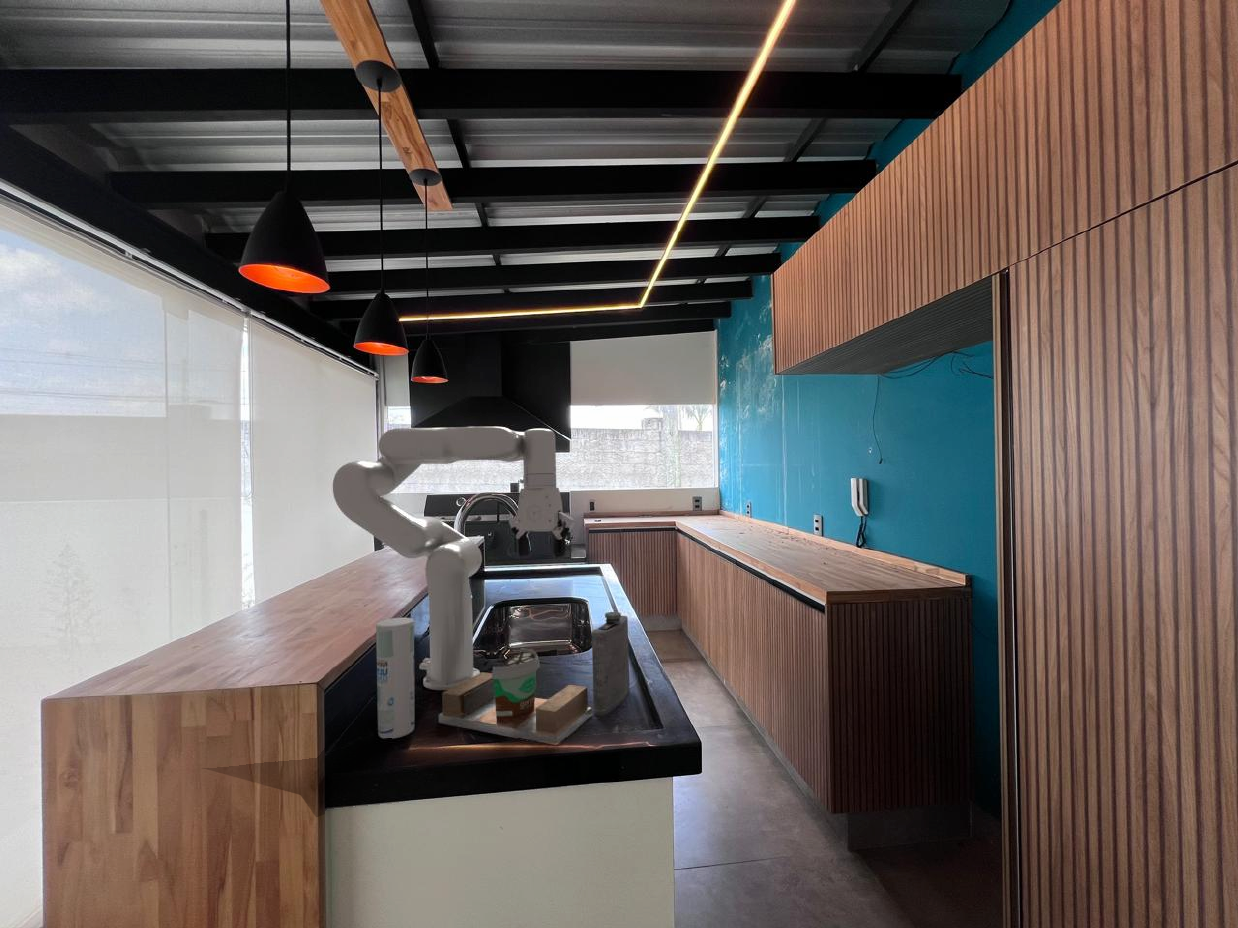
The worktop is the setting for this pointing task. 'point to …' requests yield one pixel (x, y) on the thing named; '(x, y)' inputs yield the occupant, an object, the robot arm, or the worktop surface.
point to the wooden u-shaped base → (546, 722)
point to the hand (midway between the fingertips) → (541, 555)
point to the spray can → (395, 677)
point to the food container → (515, 685)
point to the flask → (610, 663)
